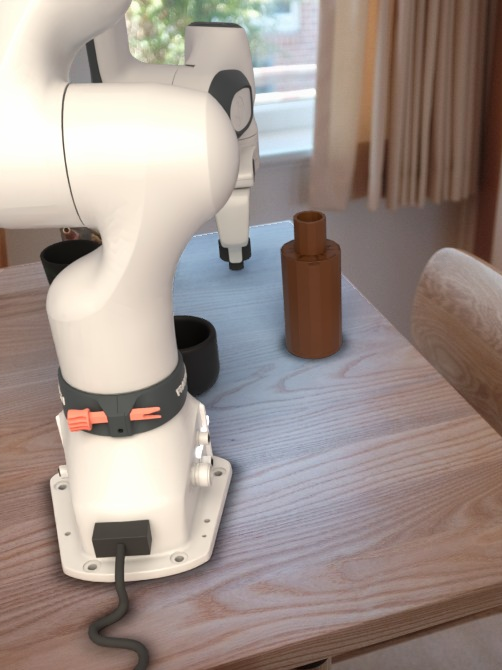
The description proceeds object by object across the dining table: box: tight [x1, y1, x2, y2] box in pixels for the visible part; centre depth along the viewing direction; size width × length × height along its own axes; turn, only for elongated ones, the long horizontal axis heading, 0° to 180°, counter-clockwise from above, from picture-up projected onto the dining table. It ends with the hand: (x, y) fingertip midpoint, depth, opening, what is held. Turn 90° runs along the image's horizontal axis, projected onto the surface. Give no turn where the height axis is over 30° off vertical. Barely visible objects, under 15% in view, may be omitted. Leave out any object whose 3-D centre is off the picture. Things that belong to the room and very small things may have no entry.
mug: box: [174, 314, 221, 397], centre depth 107 cm, size 12×9×7 cm
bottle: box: [279, 210, 343, 360], centre depth 112 cm, size 7×7×17 cm
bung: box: [217, 237, 252, 272], centre depth 131 cm, size 5×5×4 cm
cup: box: [39, 239, 101, 287], centre depth 115 cm, size 8×8×12 cm
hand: (235, 252), depth 131 cm, fingers closed on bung, 4 cm apart
